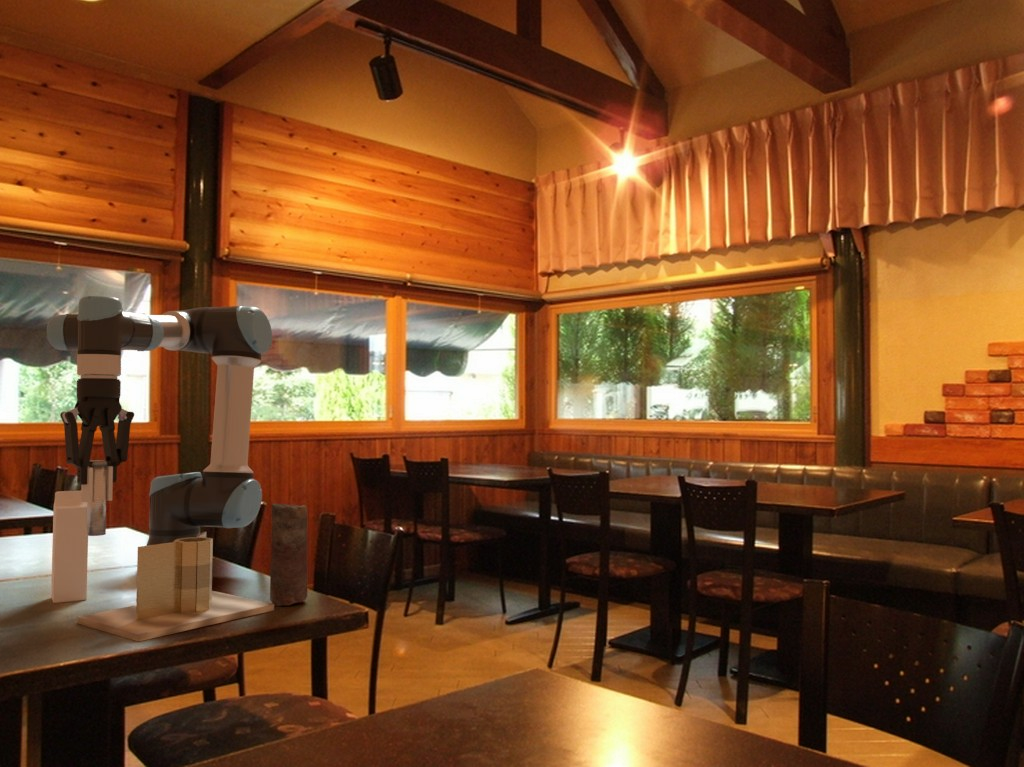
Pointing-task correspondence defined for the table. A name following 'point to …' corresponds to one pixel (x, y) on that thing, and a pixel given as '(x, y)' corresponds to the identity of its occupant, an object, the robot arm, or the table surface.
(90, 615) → the board
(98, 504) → the hinge pin
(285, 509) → the candle
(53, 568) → the milk
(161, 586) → the hinge
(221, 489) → the robot arm
